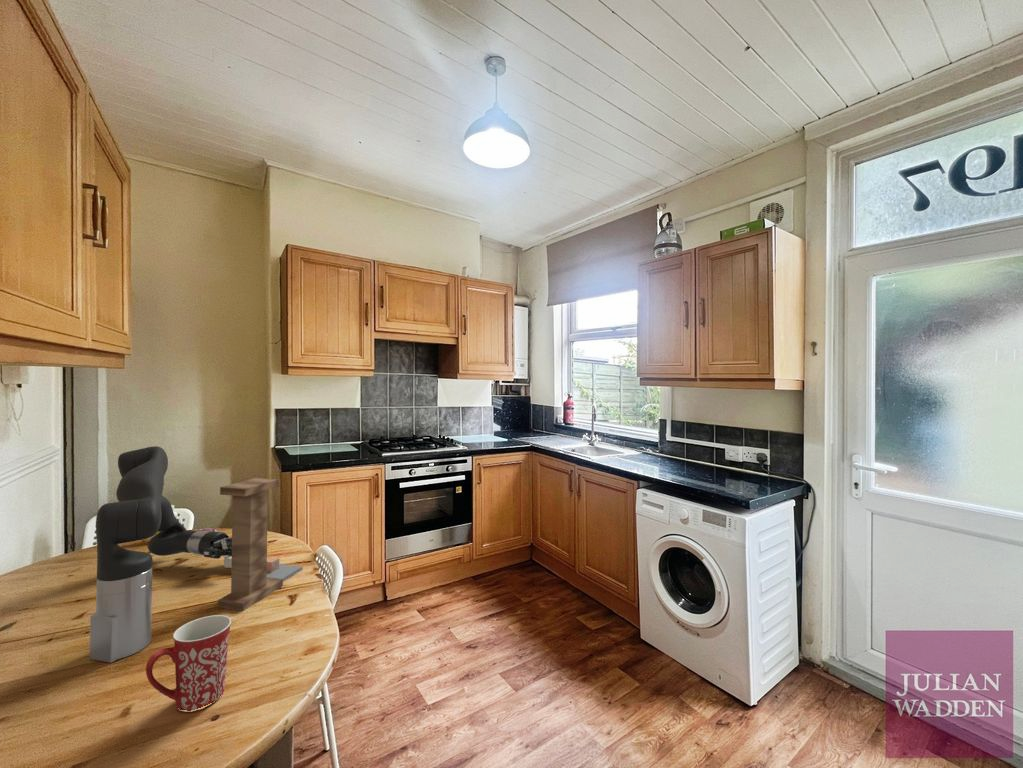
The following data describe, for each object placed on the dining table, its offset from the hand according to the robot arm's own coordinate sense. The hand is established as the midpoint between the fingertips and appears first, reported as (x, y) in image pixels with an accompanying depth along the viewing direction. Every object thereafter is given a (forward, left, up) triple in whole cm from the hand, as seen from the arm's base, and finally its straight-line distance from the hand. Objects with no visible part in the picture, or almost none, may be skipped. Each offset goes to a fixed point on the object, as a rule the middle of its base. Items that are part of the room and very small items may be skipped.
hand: (249, 547), depth 133 cm
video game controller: (+15, +34, -8) cm, 38 cm away
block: (0, -1, -6) cm, 7 cm away
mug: (-50, -35, -8) cm, 61 cm away
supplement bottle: (+16, +53, -8) cm, 56 cm away
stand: (-14, -13, -8) cm, 20 cm away
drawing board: (0, -8, -8) cm, 11 cm away
